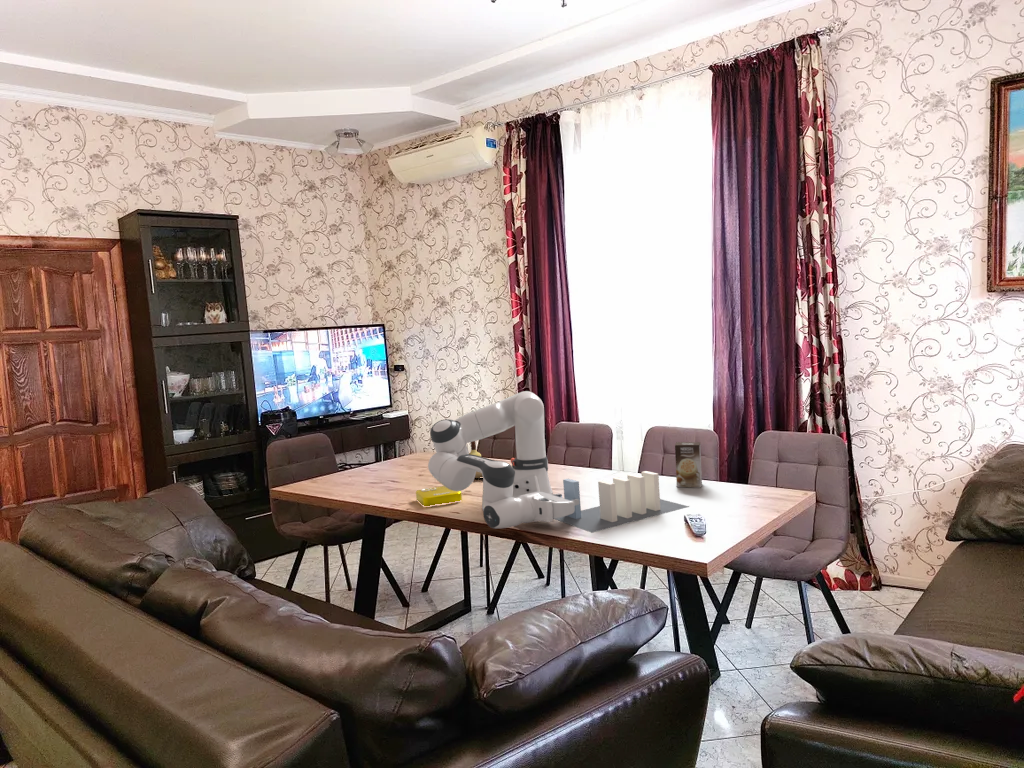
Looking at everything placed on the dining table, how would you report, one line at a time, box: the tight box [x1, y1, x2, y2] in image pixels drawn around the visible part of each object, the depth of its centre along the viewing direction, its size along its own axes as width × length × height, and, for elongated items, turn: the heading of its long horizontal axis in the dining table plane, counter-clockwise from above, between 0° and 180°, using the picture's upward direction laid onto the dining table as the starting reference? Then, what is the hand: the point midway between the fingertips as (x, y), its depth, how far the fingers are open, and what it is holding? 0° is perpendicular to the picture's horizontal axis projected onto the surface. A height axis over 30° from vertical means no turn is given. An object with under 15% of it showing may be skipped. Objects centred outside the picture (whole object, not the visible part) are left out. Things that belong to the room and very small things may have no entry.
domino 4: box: [640, 470, 661, 511], centre depth 229 cm, size 2×6×12 cm, turn 30°
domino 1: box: [597, 480, 617, 522], centre depth 220 cm, size 2×6×12 cm, turn 30°
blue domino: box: [562, 478, 582, 519], centre depth 227 cm, size 2×6×12 cm, turn 31°
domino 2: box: [612, 477, 632, 518], centre depth 223 cm, size 2×6×12 cm, turn 30°
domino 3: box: [626, 473, 646, 514], centre depth 226 cm, size 2×6×12 cm, turn 30°
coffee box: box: [674, 441, 703, 488], centre depth 260 cm, size 9×6×16 cm
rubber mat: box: [553, 498, 690, 534], centre depth 228 cm, size 40×22×1 cm, turn 121°
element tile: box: [415, 485, 463, 506], centre depth 266 cm, size 15×15×5 cm
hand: (569, 498), depth 226 cm, fingers open, 8 cm apart
